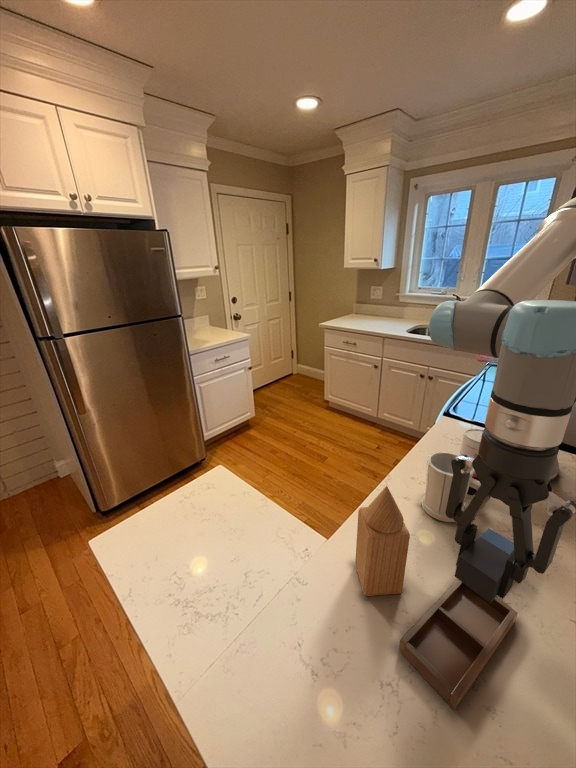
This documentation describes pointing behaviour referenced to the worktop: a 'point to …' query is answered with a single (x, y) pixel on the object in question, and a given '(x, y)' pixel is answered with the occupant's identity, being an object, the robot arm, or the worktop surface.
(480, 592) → the dark grey block
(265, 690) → the worktop surface
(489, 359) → the pencil case
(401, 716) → the worktop surface
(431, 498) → the cup
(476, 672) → the holder
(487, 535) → the slate blue block
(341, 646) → the worktop surface
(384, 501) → the decorative item
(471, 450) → the beverage can
